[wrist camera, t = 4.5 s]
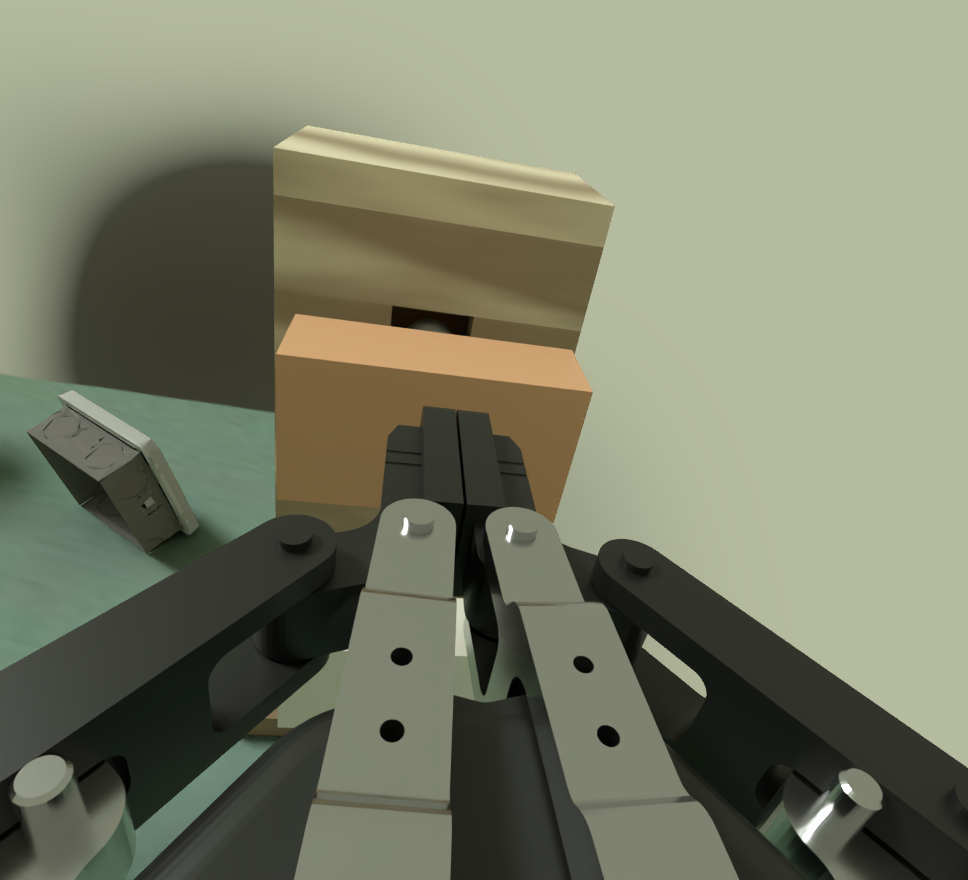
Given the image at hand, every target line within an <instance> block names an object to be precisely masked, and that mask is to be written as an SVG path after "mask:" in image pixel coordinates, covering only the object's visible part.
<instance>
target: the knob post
mask: <svg viewBox="0 0 968 880" xmlns="http://www.w3.org/2000/svg"><path fill="white" fill-rule="evenodd" d="M273 151H274V154H273V155H274V309H275V310H274V311H275V312H274V314H275V315H274V321H275V486H276V353H277V350H278V348H279V346H280V344H281V342H282V340H283V338H284V336H285V334H286V332H287V330H288V328H289V326H290V324H291V322H292V320H293V318H294V316H295V314H301V315H308V316H316V317H324V318H331V319H339V320H347V321H354V322H362V323H369V324H377V325H385V326H392V327H400V328H408V327H409V326H410V325H411V324H412V323H413V322H415V321H417V320H419V319H423V318H433V319H437V320H439V321H441V322H443V323H444V324H445V325H446V326H447V327H448V328H449V330H450V332H451V334H453V335H461V336H469V337H476V338H484V339H491V340H499V341H507V342H514V343H522V344H530V345H537V346H545V347H552V348H560V349H568V350H572V351H573V353H574V354H575V350H576V346H577V342H578V339H579V336H580V332H581V328H582V325H583V321H584V317H585V313H586V310H587V306H588V303H589V299H590V295H591V292H592V288H593V284H594V281H595V277H596V273H597V269H598V266H599V262H600V259H601V255H602V251H603V247H604V244H605V240H606V237H607V233H608V229H609V225H610V222H611V218H612V214H613V211H614V207H615V206H614V205H612V204H611V203H610V202H609V201H608V200H606V199H605V198H604V197H603V196H602V195H600V194H599V193H598V192H597V191H595V190H594V189H593V188H592V187H591V186H589V185H588V184H587V183H586V182H585V181H583V180H582V179H581V178H580V177H579V176H577V175H576V174H574V173H569V172H563V171H557V170H552V169H546V168H540V167H535V166H529V165H524V164H518V163H512V162H507V161H502V160H496V159H490V158H485V157H479V156H474V155H468V154H463V153H457V152H451V151H446V150H440V149H435V148H429V147H424V146H417V145H412V144H406V143H401V142H395V141H390V140H385V139H379V138H373V137H368V136H362V135H357V134H351V133H346V132H339V131H334V130H329V129H323V128H318V127H312V126H306V127H304V128H303V129H301V130H300V131H298V132H297V133H295V134H294V135H292V136H291V137H289V138H287V139H286V140H284V141H283V142H281V143H280V144H278V145H277V146H275V147H274V149H273ZM379 511H380V508H372V507H360V506H348V505H336V504H324V503H312V502H301V501H289V500H277V496H276V518H277V517H280V516H285V515H308V516H312V517H315V518H318V519H320V520H322V521H324V522H326V523H327V524H328V525H330V526H331V527H332V529H333V530H334V532H335V533H337V532H344V531H349V530H354V529H357V528H360V527H362V526H364V525H366V524H368V523H369V522H371V521H372V520H373V519H374V518H375V517H376V516H377V515H378V513H379ZM453 598H462V599H463V597H456V596H453ZM292 729H293V728H278V708H277V709H275V710H274V711H273V712H272V713H271V714H270V715H268V716H267V717H266V718H265V719H264V720H263V721H261V722H260V723H259V724H258V725H257V726H256V727H254V728H253V729H252V730H251V731H250V732H249V733H248V734H246V735H271V736H284V735H285V734H286V733H288V732H289V731H290V730H292Z"/></svg>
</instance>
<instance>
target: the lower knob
mask: <svg viewBox="0 0 968 880" xmlns="http://www.w3.org/2000/svg"><path fill="white" fill-rule="evenodd" d="M456 601H457V614H456V640H455V667H454V693H453V695H456V696H460V697H463V698H467V699H471V700H474V694H473V688H472V682H471V676H470V670H469V663H468V657H467V651H466V645H465V639H464V633H463V624H464V619H465V612H464V603H463V599H462V598H456ZM347 652H348V649H347V650H343V651H339V652H335V653H330V655H329V659H328V661H327V663H326V664H325V666H324V667H323V668H322V669H321V670H320V671H319V672H318V673H317V674H316V675H315V676H314V677H312V678H311V679H310V680H309V681H308V682H307V683H305V684H304V685H303V686H302V687H301V688H300V689H299V690H297V691H296V692H295V693H294V694H293V695H292V696H290V697H289V698H288V699H287V700H286V701H285V702H283V703H282V704H281V705H280V706H279V707H278V728H295V727H296V726H298V725H300V724H301V723H303V722H305V721H306V720H308V719H310V718H312V717H314V716H316V715H318V714H321V713H323V712H325V711H328V710H331V709H334V708H335V706H336V702H337V697H338V693H339V688H340V684H341V679H342V675H343V670H344V666H345V661H346V657H347Z"/></svg>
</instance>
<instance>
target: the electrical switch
mask: <svg viewBox="0 0 968 880" xmlns="http://www.w3.org/2000/svg"><path fill="white" fill-rule="evenodd" d="M58 397H59V399H60V401H61V403H62V405H63V406H64V407H63V408H62V409H61V410H60V411H58V412H56V413H54V414H52V415H51V416H49V417H48V418H47V419H46V420H45V421H44V422H42V423H40V424H39V425H37V426H35V427H33V428H31V429H30V430H28V431H26V432H27V433H28V435H29V436H30V437H31V439H32V440H33V442H34V443H35V444H36V446H37V447H38V448H39V450H40V451H41V453H42V454H43V455H44V457H45V458H46V459H47V461H48V462H49V464H50V465H51V466H52V468H53V469H54V470H55V472H56V473H57V475H58V476H59V477H60V479H61V480H62V482H63V483H64V484H65V486H66V487H67V488H68V490H69V491H70V493H71V494H72V495H73V497H74V498H75V499H76V501H77V502H78V504H79V505H81V504H82V503H84V502H85V501H87V500H88V499H89V500H88V501H87V502H85V503H84V504H83V505H81V506H82V507H83V508H85V509H86V510H88V511H89V512H90V513H92V514H93V515H95V516H96V517H97V518H99V519H100V520H101V521H103V522H104V523H106V524H107V525H108V526H110V527H111V528H113V529H114V530H115V531H117V532H118V533H119V534H121V535H122V536H124V537H125V538H126V539H128V540H129V541H131V542H132V543H133V544H135V545H136V546H137V547H139V548H140V549H142V550H143V551H144V552H146V554H147V553H148V552H150V551H151V550H152V549H154V548H155V547H156V546H157V545H159V544H160V543H161V542H163V541H165V540H166V539H168V538H170V537H171V536H172V535H173V534H174V533H176V532H177V531H179V530H181V531H183V532H184V533H185V534H187V535H188V536H189V535H191V534H192V533H193V532H194V531H195V530H196V529H197V528H198V527H199V523H198V521H197V519H196V517H195V515H194V513H193V511H192V509H191V508H190V506H189V504H188V502H187V500H186V498H185V496H184V494H183V492H182V490H181V488H180V486H179V484H178V482H177V480H176V478H175V477H174V475H173V473H172V471H171V469H170V467H169V465H168V463H167V462H166V460H165V458H164V456H163V454H162V452H161V450H160V449H159V447H158V446H157V445H156V444H155V443H154V442H153V441H152V440H151V439H150V438H149V437H147V436H145V435H144V434H142V433H141V432H139V431H137V430H136V429H134V428H132V427H131V426H129V425H128V424H126V423H124V422H123V421H121V420H120V419H118V418H116V417H115V416H113V415H111V414H110V413H108V412H107V411H105V410H103V409H102V408H100V407H99V406H97V405H95V404H94V403H92V402H91V401H89V400H87V399H86V398H84V397H82V396H81V395H79V394H78V393H76V392H74V391H73V390H72V391H69V392H67V393H65V394H63V395H60V396H58ZM90 498H91V499H90ZM98 504H99V505H98ZM118 512H119V513H118ZM115 513H117V514H115ZM103 514H104V515H103ZM131 531H132V532H133V533H132V532H131Z"/></svg>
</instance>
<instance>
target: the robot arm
mask: <svg viewBox="0 0 968 880" xmlns="http://www.w3.org/2000/svg"><path fill="white" fill-rule="evenodd" d="M453 596H456V597H463V603H464V612H465V619H464V624H463V633H464V639H465V645H466V651H467V657H468V663H469V670H470V676H471V682H472V688H473V694H474V700H471V699H467V698H463V697H460V696H456V695H453V693H454V667H455V640H456V614H457V601H456V598H453ZM647 634H649V635H650V636H651V637H652V638H654V639H655V640H656V641H657V642H659V643H660V644H661V645H662V646H664V647H665V648H667V650H669V651H670V652H671V653H673V654H674V655H675V656H676V657H677V658H679V659H680V660H681V661H682V662H684V663H685V664H686V665H687V666H689V667H690V668H691V669H693V670H694V671H695V672H696V673H697V674H698V675H699V676H700V678H701V679H702V681H703V682H704V685H705V687H706V692H707V696H706V698H704V697H703V696H701V695H700V694H698V693H697V692H696V691H695V690H693V689H692V688H691V687H690V686H689V685H687V684H686V683H685V682H684V681H682V680H681V679H680V678H679V677H678V676H676V675H675V674H674V673H672V672H671V671H670V670H669V669H667V667H665V666H664V665H663V664H661V663H660V662H659V661H658V660H657V659H656V658H654V657H653V656H652V655H650V654H649V653H648V652H647V651H646V650H645V649H643V648H642V645H643V643H644V641H645V639H646V636H647ZM347 649H348V652H347V657H346V661H345V666H344V670H343V675H342V679H341V684H340V688H339V693H338V697H337V702H336V706H335V708H334V709H331V710H328V711H325V712H323V713H321V714H318V715H316V716H314V717H312V718H310V719H308V720H306V721H305V722H303V723H301V724H300V725H298V726H296V727H295V728H293V729H292V730H290V731H289V732H288V733H286V734H285V735H284V736H282V737H281V738H280V739H278V740H277V741H276V742H275V743H274V744H273V745H272V746H271V747H269V748H268V749H267V750H266V751H265V752H264V753H263V754H262V755H261V756H260V757H259V758H258V759H257V760H256V761H255V762H254V763H253V764H252V765H251V766H250V767H249V768H248V769H247V770H246V771H245V772H244V773H243V774H242V775H241V776H240V777H239V778H238V779H237V780H236V781H235V782H234V783H232V784H231V785H230V786H229V787H228V788H227V789H226V790H225V791H224V792H223V793H222V794H221V795H220V796H219V797H218V798H217V799H216V800H215V801H214V802H213V803H212V804H211V805H210V806H209V807H208V808H207V809H206V810H205V811H204V812H203V813H202V814H201V815H200V816H199V817H198V818H197V819H196V820H194V821H193V822H192V823H191V824H190V825H189V826H188V827H187V828H186V829H185V830H184V831H183V832H182V833H181V834H180V835H179V836H178V837H177V838H176V839H175V840H174V841H173V842H172V843H171V844H170V845H169V846H168V847H167V848H166V849H165V850H164V851H163V852H162V853H161V854H160V855H159V856H158V857H156V858H155V859H154V860H153V861H152V862H151V863H150V864H149V865H148V866H147V867H146V868H145V869H144V870H143V871H142V872H141V873H140V874H139V875H138V876H137V877H136V878H135V879H134V880H968V768H967V767H966V766H964V765H963V764H961V763H960V762H958V761H957V760H955V759H954V758H953V757H951V756H950V755H948V754H947V753H945V752H944V751H943V750H941V749H940V748H938V747H937V746H935V745H934V744H933V743H931V742H929V741H928V740H927V739H925V738H924V737H923V736H921V735H920V734H918V733H917V732H915V731H914V730H912V729H911V728H910V727H908V726H906V725H905V724H904V723H903V722H901V721H899V720H898V719H897V718H895V717H894V716H892V715H891V714H890V713H888V712H887V711H885V710H884V709H882V708H881V707H879V706H878V705H877V704H875V703H874V702H872V701H871V700H870V699H868V698H867V697H865V696H864V695H862V694H861V693H860V692H858V691H857V690H855V689H854V688H852V687H851V686H849V685H848V684H847V683H845V682H844V681H842V680H841V679H839V678H838V677H837V676H835V675H834V674H832V673H831V672H829V671H828V670H827V669H825V668H824V667H822V666H821V665H819V664H818V663H817V662H815V661H814V660H812V659H811V658H809V657H808V656H807V655H805V654H804V653H802V652H801V651H799V650H798V649H796V648H795V647H793V646H792V645H790V644H789V643H788V642H786V641H785V640H784V639H782V638H780V637H779V636H778V635H776V634H775V633H773V632H772V631H771V630H769V629H768V628H766V627H765V626H764V625H762V624H761V623H759V622H758V621H756V620H755V619H753V618H752V617H750V616H749V615H747V614H746V613H745V612H743V611H742V610H741V609H739V608H738V607H736V606H735V605H733V604H732V603H731V602H729V601H728V600H726V599H725V598H723V597H722V596H721V595H719V594H718V593H716V592H715V591H713V590H712V589H710V588H709V587H708V586H706V585H705V584H703V583H702V582H700V581H699V580H698V579H696V578H694V577H693V576H692V575H690V574H689V573H688V572H686V571H685V570H683V569H682V568H680V567H679V566H678V565H676V564H675V563H673V562H672V561H670V560H669V559H667V558H666V557H665V556H663V555H662V554H660V553H659V552H658V551H656V550H654V549H653V548H651V547H649V546H647V545H645V544H643V543H640V542H637V541H633V540H628V539H616V540H611V541H609V542H606V543H605V544H604V545H603V546H602V547H601V548H600V551H599V553H598V556H597V555H593V554H590V553H587V552H584V551H581V550H577V549H574V548H571V547H568V546H566V545H564V544H562V543H561V541H560V538H559V535H558V533H557V530H556V528H555V527H554V525H553V524H552V523H551V522H550V521H549V520H548V519H547V518H545V517H544V516H543V515H541V514H539V513H537V512H536V508H535V504H534V500H533V496H532V492H531V488H530V484H529V480H528V478H527V472H526V468H525V466H524V460H523V456H522V452H521V449H520V448H519V447H518V446H517V445H516V444H515V442H514V441H513V440H512V439H511V438H510V437H509V436H502V435H493V433H492V427H491V422H490V417H489V413H484V412H475V411H466V410H457V411H456V412H455V409H448V408H439V407H430V406H423V409H422V415H421V423H420V427H416V426H406V425H398V426H397V427H396V428H395V429H394V430H393V431H392V432H391V433H390V434H389V435H388V439H387V448H386V458H385V467H384V477H383V486H382V496H381V507H380V511H379V513H378V515H377V516H376V517H375V518H374V519H373V520H372V521H371V522H369V523H368V524H366V525H364V526H362V527H360V528H357V529H354V530H349V531H344V532H337V533H335V532H334V530H333V529H332V527H331V526H330V525H328V524H327V523H326V522H324V521H322V520H320V519H318V518H315V517H312V516H308V515H285V516H280V517H277V518H274V519H271V520H269V521H267V522H265V523H263V524H261V525H260V526H258V527H256V528H254V529H252V530H251V531H249V532H247V533H245V534H244V535H242V536H240V537H238V538H236V539H235V540H233V541H231V542H229V543H228V544H226V545H224V546H222V547H220V548H219V549H217V550H215V551H213V552H212V553H210V554H208V555H206V556H204V557H203V558H201V559H199V560H197V561H195V562H194V563H192V564H190V565H188V566H187V567H185V568H183V569H181V570H179V571H178V572H176V573H174V574H172V575H171V576H169V577H167V578H165V579H163V580H162V581H160V582H158V583H156V584H155V585H153V586H151V587H149V588H147V589H146V590H144V591H142V592H140V593H138V594H137V595H135V596H133V597H131V598H130V599H128V600H126V601H124V602H122V603H121V604H119V605H117V606H115V607H114V608H112V609H110V610H108V611H106V612H105V613H103V614H101V615H99V616H98V617H96V618H94V619H92V620H90V621H89V622H87V623H85V624H83V625H81V626H80V627H78V628H76V629H74V630H73V631H71V632H69V633H67V634H65V635H64V636H62V637H60V638H58V639H57V640H55V641H53V642H51V643H49V644H48V645H46V646H44V647H42V648H41V649H39V650H37V651H35V652H33V653H32V654H30V655H28V656H26V657H24V658H23V659H21V660H19V661H17V662H16V663H14V664H12V665H10V666H8V667H7V668H5V669H3V670H1V671H0V880H124V879H125V877H126V875H127V873H128V871H129V869H130V867H131V864H132V861H133V859H134V854H135V849H136V836H135V830H136V829H137V828H139V827H140V826H141V825H142V824H143V823H144V822H145V821H147V820H148V819H149V818H150V817H151V816H152V815H154V814H155V813H156V812H157V811H158V810H159V809H161V808H162V807H163V806H164V805H165V804H166V803H168V802H169V801H170V800H171V799H172V798H173V797H174V796H176V795H177V794H178V793H179V792H180V791H181V790H183V789H184V788H185V787H186V786H187V785H188V784H190V783H191V782H192V781H193V780H194V779H195V778H196V777H198V776H199V775H200V774H201V773H202V772H203V771H205V770H206V769H207V768H208V767H209V766H210V765H212V764H213V763H214V762H215V761H216V760H217V759H219V758H220V757H221V756H222V755H223V754H224V753H225V752H227V751H228V750H229V749H230V748H231V747H232V746H234V745H235V744H236V743H237V742H238V741H239V740H241V739H242V738H243V737H244V736H245V735H246V734H248V733H249V732H250V731H251V730H252V729H253V728H254V727H256V726H257V725H258V724H259V723H260V722H261V721H263V720H264V719H265V718H266V717H267V716H268V715H270V714H271V713H272V712H273V711H274V710H275V709H277V708H278V707H279V706H280V705H281V704H282V703H283V702H285V701H286V700H287V699H288V698H289V697H290V696H292V695H293V694H294V693H295V692H296V691H297V690H299V689H300V688H301V687H302V686H303V685H304V684H305V683H307V682H308V681H309V680H310V679H311V678H312V677H314V676H315V675H316V674H317V673H318V672H319V671H320V670H321V669H322V668H323V667H324V666H325V664H326V663H327V661H328V659H329V655H330V653H335V652H339V651H343V650H347Z"/></svg>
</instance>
